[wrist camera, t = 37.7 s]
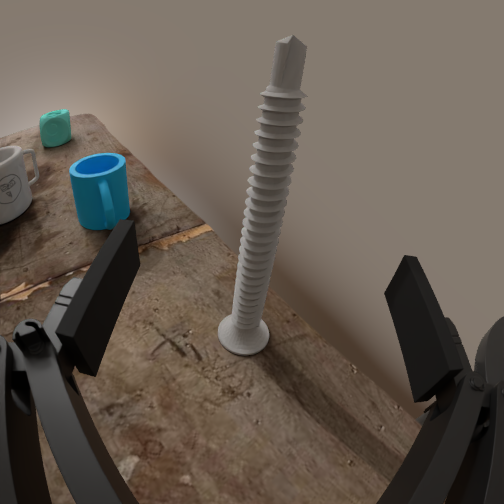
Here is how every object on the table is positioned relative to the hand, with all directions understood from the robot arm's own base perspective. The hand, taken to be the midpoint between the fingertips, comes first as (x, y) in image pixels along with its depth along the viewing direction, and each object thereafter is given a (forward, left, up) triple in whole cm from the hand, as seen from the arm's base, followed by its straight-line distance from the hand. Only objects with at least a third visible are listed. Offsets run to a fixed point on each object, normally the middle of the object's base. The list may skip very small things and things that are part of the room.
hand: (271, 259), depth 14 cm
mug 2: (+31, -1, -16) cm, 35 cm away
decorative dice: (+76, -1, -16) cm, 78 cm away
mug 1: (+47, +13, -16) cm, 51 cm away
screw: (+5, -5, -16) cm, 17 cm away
